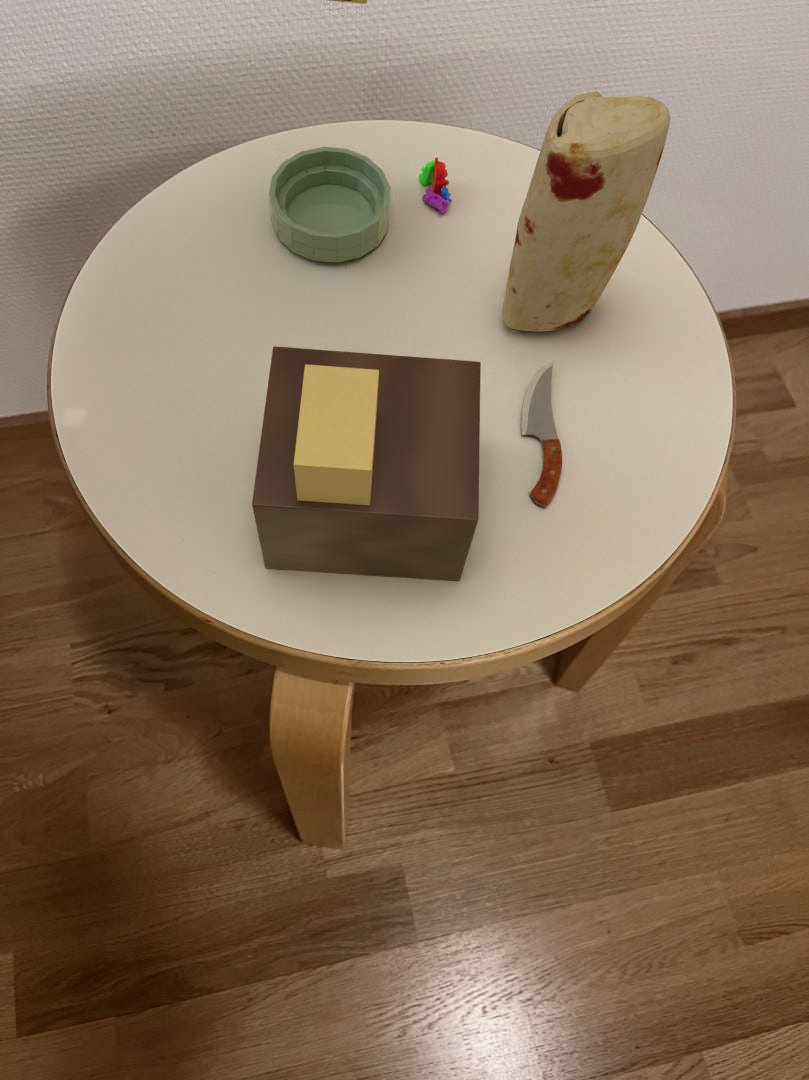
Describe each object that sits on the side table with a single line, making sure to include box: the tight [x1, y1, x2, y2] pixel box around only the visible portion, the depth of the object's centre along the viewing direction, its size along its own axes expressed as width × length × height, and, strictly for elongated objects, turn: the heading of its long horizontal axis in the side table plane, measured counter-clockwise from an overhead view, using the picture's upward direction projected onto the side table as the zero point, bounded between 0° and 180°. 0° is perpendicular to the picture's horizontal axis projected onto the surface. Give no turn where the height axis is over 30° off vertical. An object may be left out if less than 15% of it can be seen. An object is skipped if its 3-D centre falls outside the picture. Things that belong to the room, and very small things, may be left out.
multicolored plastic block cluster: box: [418, 156, 453, 214], centre depth 79 cm, size 5×3×4 cm, turn 5°
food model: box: [501, 90, 671, 332], centre depth 66 cm, size 10×7×20 cm
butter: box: [294, 365, 379, 505], centre depth 55 cm, size 4×7×4 cm, turn 177°
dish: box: [268, 146, 391, 263], centre depth 77 cm, size 10×10×4 cm
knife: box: [521, 360, 563, 508], centre depth 70 cm, size 13×1×3 cm
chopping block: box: [251, 345, 482, 582], centre depth 62 cm, size 14×12×10 cm
